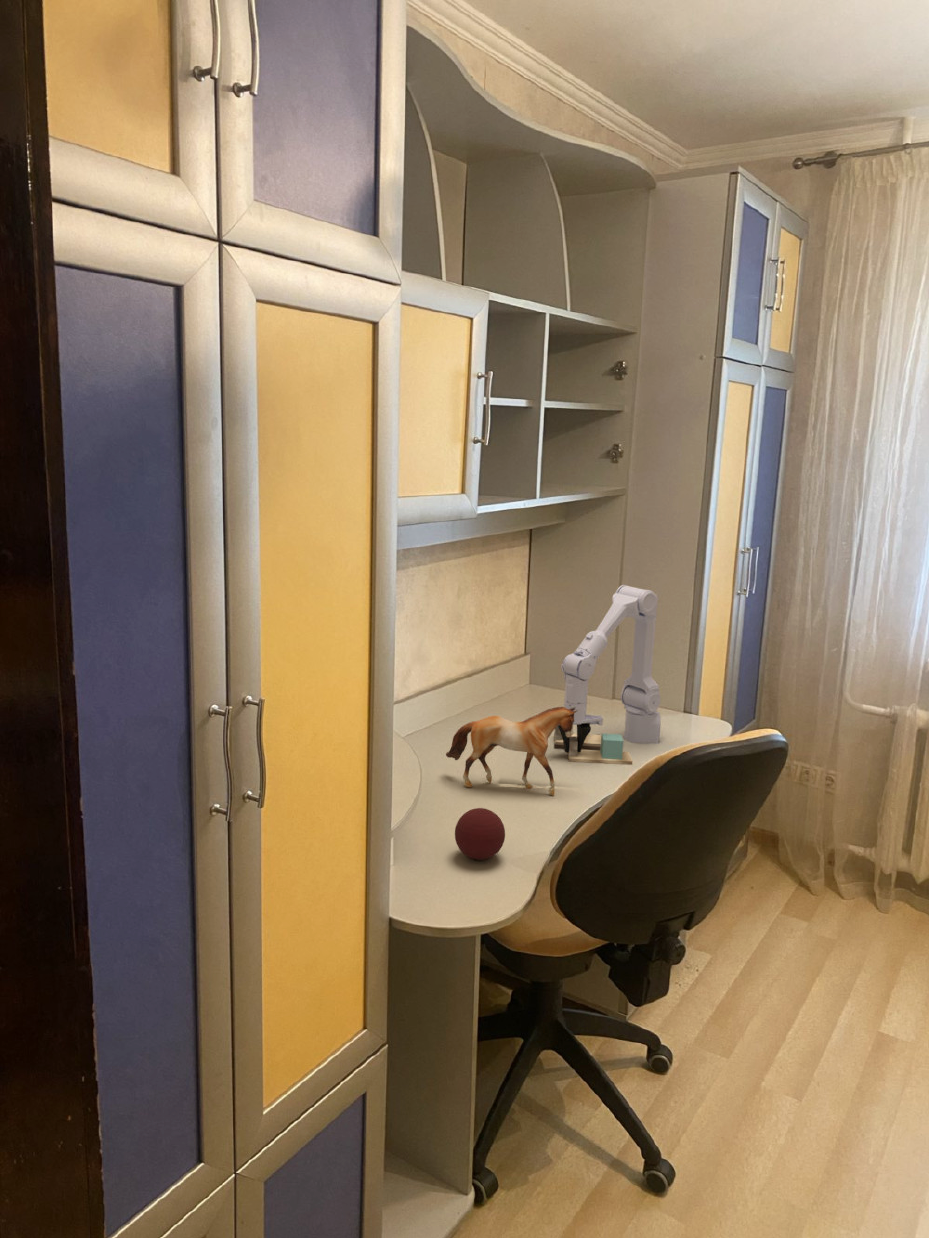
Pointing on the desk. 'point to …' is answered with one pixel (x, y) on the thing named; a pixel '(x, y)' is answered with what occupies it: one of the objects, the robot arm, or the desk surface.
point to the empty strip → (588, 741)
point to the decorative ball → (479, 833)
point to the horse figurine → (512, 739)
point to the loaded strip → (593, 755)
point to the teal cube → (611, 746)
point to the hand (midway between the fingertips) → (572, 751)
